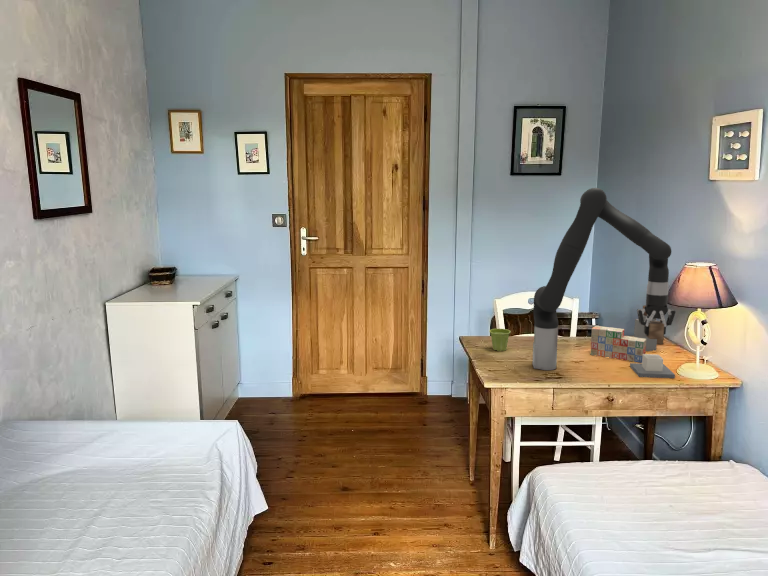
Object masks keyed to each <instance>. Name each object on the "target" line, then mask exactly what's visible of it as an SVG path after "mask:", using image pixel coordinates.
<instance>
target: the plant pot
mask: <svg viewBox="0 0 768 576" xmlns="http://www.w3.org/2000/svg"><path fill="white" fill-rule="evenodd" d="M489 334H490V337H491V344H492V349H493V350H494V351H495V350H497V352H502V351H503V352H504V351H507V348H508V343H509V337H510V335H511V330H509V329H506V328H492V329H489Z"/></svg>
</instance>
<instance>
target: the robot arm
mask: <svg viewBox="0 0 768 576" xmlns="http://www.w3.org/2000/svg"><path fill="white" fill-rule="evenodd" d="M607 199H608V198H607V195H606V193H605V191H604V190H603V189H601V188H599V187H592V188H589V189H587V190H586V191H584V193H582V195H581V196H580V200H579V202H580V203H579V204H580V205H579V207H578V210H577V213H576V216H575V218H574V220H573V221H572V223H571V225H570V226H569V228H568V229H567V230H566V233H565V234H564V236H563V238H562V239H561V241H560V244H559V246H558V248H557V251H556V253H555V256H554V259H553V266H552V271H551V275H550V277H549V279H548V282H547V283H546V285H544V286H543V285H542V286H541V287H538V288H537V289H536V291H535V293H534V296H533V321H534V329H533V330H534V331H533V332H534V333H533V343H532V360H531V362H532V367H533V369H535V370H536V369H537V370H543V371H552V370H555V369H557V361H558V360H557V358H558V357H557V356H558V341H559V340H558V339H559V338H558V336H559V320H558V315H557V310H558V308H559V307H560V306H561V305H562V302H563V299H564V297H565V293H566V291H567V288H568V284H569V282H570V280H571V277H572V276H573V274H574V272H575V271H576V268H577V265H578V263H579V261H580V260H581V257H582V256H583V254H584V251H585V248H586V246H587V244H588V240H589V239H590V236H591V232H592V229H593V227H594V224H595V223H596V221H597V219H598V218H599V219H601V220H603V221H605V222H606V223H608V224H609V225H610V226H612V227H613V228H614V229H615V230H617V231H618V232H619V233H620V234H621V235H623V236H624V237H625V238H627V239H628V240H629V241H631V242H632V243H633V244H634V245H636V246H638V247H640V248H641V249H642V250H644V251H645V252H646V253H647V254H648V265H649V267H648V269H649V270H648V275H647V276H648V277H647V280H648V281H647V285H646V297H645V298H646V299H645V305H646V306H645V308H644V309H643V308H641V309H640V308H638V309H637V310H636V313H637V317H638V318H637V319H639V323H640V324H641V325H644V333H645V335H646V336H649V324H650V322H651V321H652V319H655V318H656V320H657V319H658V321H660V322H662V323H663V324H664V335H663V336H664V337H665V335H666V334H667V327H668V326H672V324H673V320H674V318H675V315H676V310H674V309H670V308H668V299H669V276H670V274H669V273H670V272H669V271H670V270H669V267H668V263H669V258H670V257H671V255H672V247H671V246H670V244H668V243H667V242H666V241H664V240H663V239H661V238H659V237H658V236H657V235H655V234H654V233H652V231H651V230H649V229H648V228H647V227H645V226H644V225H642V224H641V223H640V222H639V221H637V220H635V219H634V218H633V217H631V216H629V215H627V214H625V213H623V212H622V211H620V210H619V209H617V208H616V207H615V206H614V205H612V204H611V203H610V202H609V201H608V200H607ZM644 312H646V313H647V317H646V320H645V322H644V320H643V314H644ZM666 314H667V315H668V316H667V319H665V315H666ZM648 316H649V317H648Z"/></svg>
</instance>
